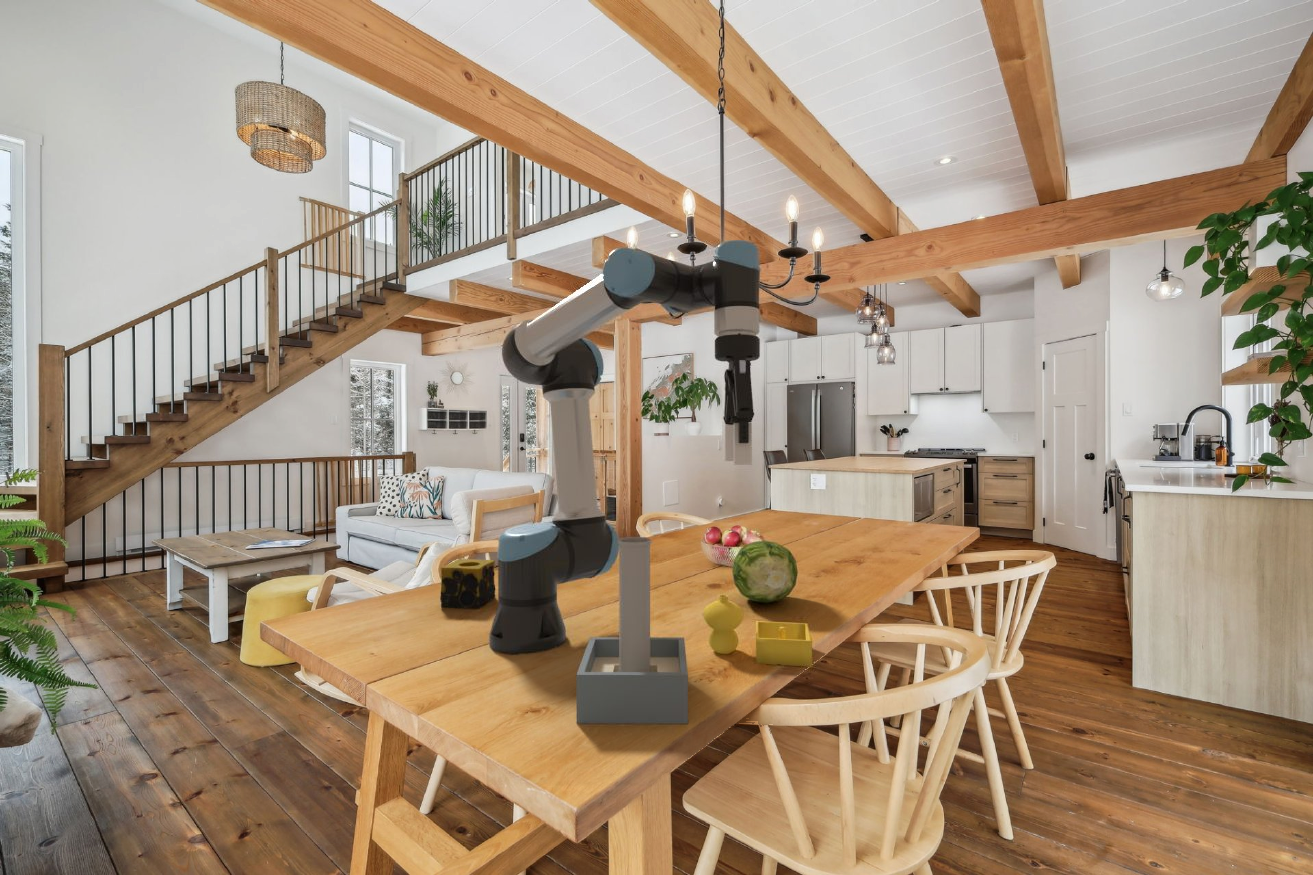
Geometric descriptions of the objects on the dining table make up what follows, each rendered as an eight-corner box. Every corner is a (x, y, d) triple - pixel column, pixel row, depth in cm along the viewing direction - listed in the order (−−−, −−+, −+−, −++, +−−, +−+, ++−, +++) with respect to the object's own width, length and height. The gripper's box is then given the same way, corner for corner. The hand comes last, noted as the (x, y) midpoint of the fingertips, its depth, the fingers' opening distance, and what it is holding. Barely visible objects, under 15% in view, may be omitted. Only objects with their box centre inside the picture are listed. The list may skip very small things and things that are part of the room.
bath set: (807, 646, 117) (807, 592, 117) (812, 667, 107) (812, 607, 107) (705, 641, 120) (705, 588, 120) (700, 660, 110) (700, 602, 110)
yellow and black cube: (459, 597, 154) (458, 558, 154) (496, 598, 153) (496, 559, 152) (439, 608, 144) (439, 567, 144) (478, 610, 142) (478, 568, 142)
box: (576, 723, 86) (576, 674, 86) (590, 678, 102) (590, 637, 102) (687, 724, 85) (687, 675, 85) (684, 678, 101) (684, 637, 101)
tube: (653, 705, 91) (653, 542, 91) (618, 707, 91) (618, 543, 91) (650, 691, 97) (650, 536, 97) (617, 692, 96) (617, 537, 96)
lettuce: (738, 618, 135) (738, 551, 135) (727, 593, 156) (727, 535, 156) (809, 618, 135) (809, 550, 135) (789, 593, 156) (789, 535, 156)
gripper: (773, 322, 88) (773, 466, 88) (748, 347, 113) (749, 459, 113) (721, 322, 88) (722, 466, 88) (709, 347, 113) (709, 459, 113)
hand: (737, 463), depth 100 cm, fingers open, 13 cm apart
